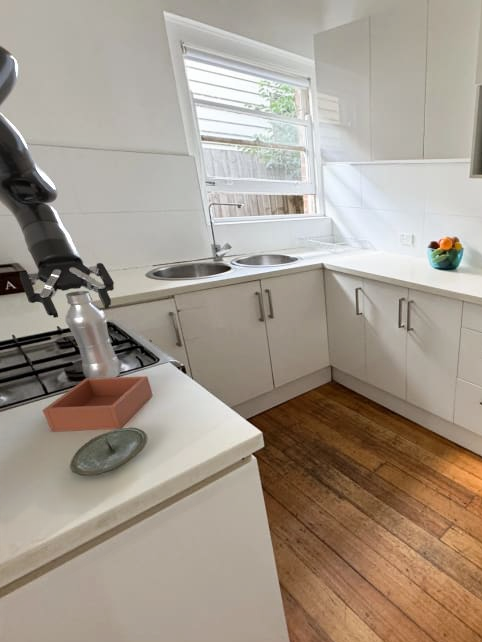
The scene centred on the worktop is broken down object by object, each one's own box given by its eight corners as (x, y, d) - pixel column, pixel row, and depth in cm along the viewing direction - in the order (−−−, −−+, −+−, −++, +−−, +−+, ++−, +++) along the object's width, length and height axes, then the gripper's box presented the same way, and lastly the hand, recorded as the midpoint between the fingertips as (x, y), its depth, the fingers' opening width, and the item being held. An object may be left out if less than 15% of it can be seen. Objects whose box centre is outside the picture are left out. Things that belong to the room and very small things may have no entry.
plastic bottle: (85, 377, 86) (54, 292, 78) (121, 368, 90) (96, 287, 82) (88, 388, 82) (56, 300, 74) (126, 379, 86) (99, 294, 78)
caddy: (51, 431, 68) (42, 410, 67) (93, 397, 79) (86, 378, 77) (121, 428, 70) (113, 407, 68) (152, 395, 80) (147, 376, 79)
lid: (163, 447, 68) (159, 420, 67) (123, 475, 58) (118, 444, 57) (102, 450, 67) (98, 423, 66) (52, 478, 57) (46, 447, 57)
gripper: (2, 240, 75) (34, 309, 72) (93, 234, 85) (123, 294, 82) (10, 263, 80) (39, 328, 78) (94, 254, 90) (122, 312, 88)
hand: (82, 310), depth 80 cm, fingers open, 8 cm apart
